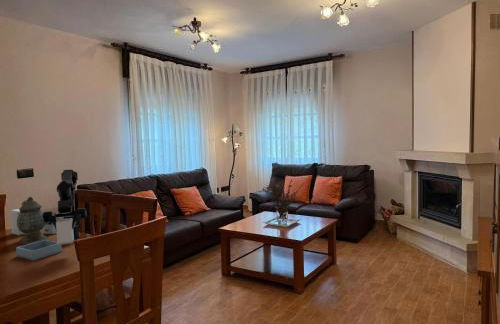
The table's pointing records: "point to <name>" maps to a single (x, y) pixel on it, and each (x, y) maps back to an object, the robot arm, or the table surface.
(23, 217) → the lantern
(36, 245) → the tray
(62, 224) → the white upright carton
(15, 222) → the supplement box
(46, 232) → the light bulb box
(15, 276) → the table surface
